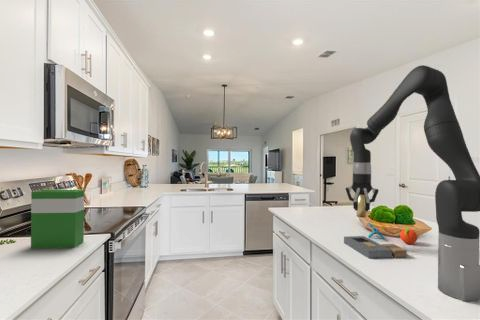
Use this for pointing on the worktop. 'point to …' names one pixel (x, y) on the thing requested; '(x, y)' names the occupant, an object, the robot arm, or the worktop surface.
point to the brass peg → (361, 206)
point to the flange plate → (368, 247)
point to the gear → (374, 232)
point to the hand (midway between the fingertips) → (361, 210)
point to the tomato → (408, 236)
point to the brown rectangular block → (396, 250)
